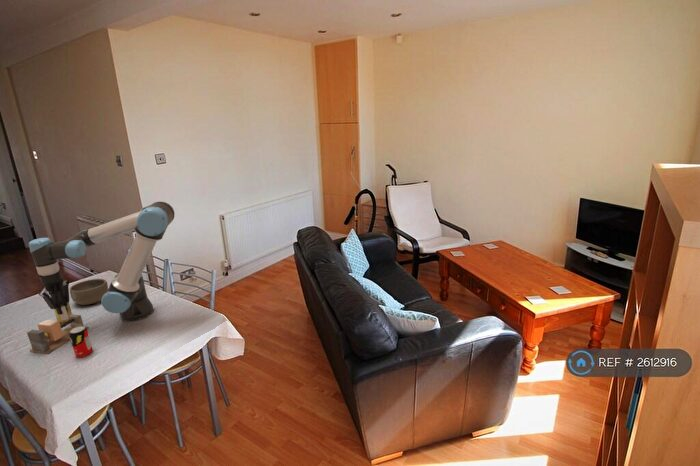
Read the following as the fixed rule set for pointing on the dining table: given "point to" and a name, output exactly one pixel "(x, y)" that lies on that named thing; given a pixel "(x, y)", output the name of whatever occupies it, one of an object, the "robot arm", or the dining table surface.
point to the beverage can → (80, 341)
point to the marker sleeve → (51, 329)
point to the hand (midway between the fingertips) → (65, 319)
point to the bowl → (88, 291)
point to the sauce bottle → (67, 313)
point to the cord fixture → (40, 338)
